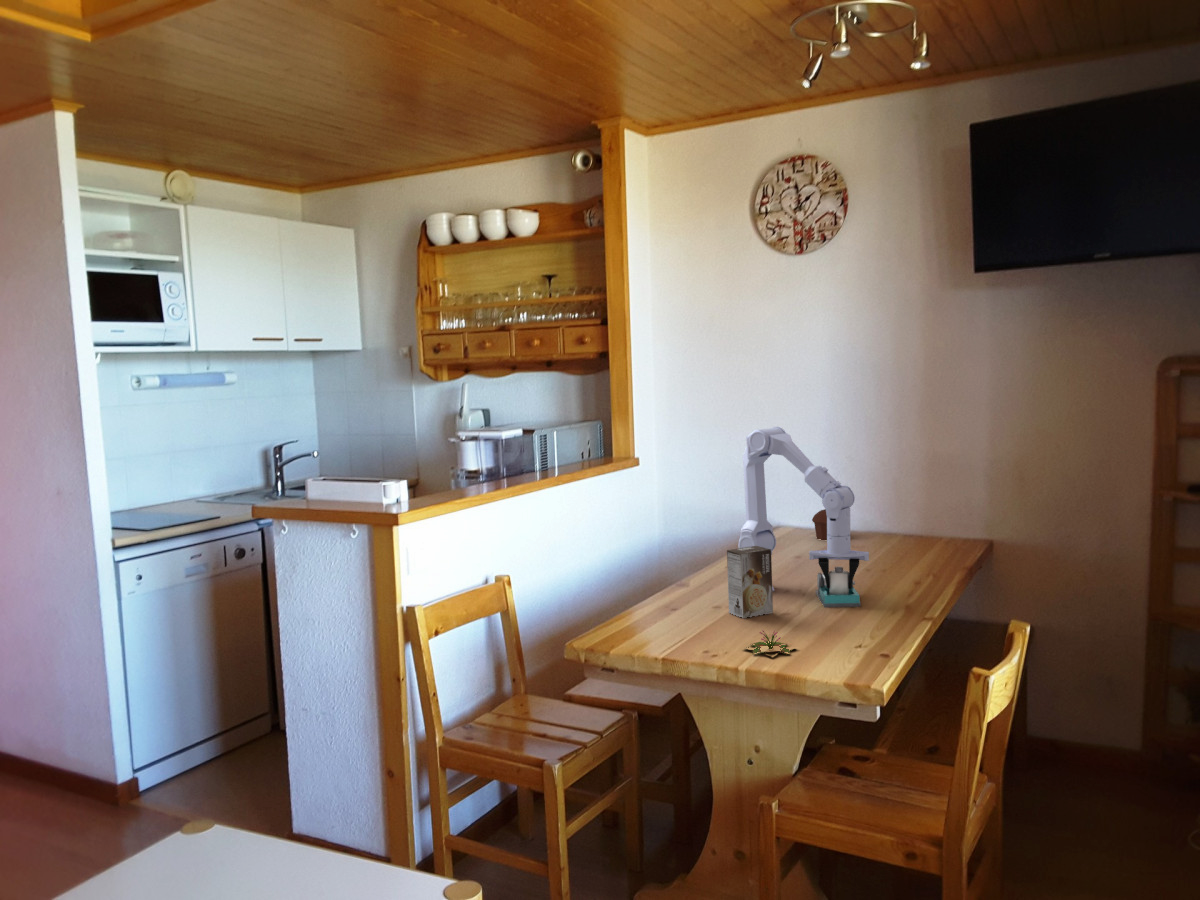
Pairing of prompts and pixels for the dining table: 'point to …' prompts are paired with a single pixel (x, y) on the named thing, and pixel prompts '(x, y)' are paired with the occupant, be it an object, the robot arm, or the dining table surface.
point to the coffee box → (750, 581)
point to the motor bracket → (836, 595)
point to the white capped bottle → (838, 581)
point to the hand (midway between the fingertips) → (839, 587)
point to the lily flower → (769, 644)
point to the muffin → (820, 524)
